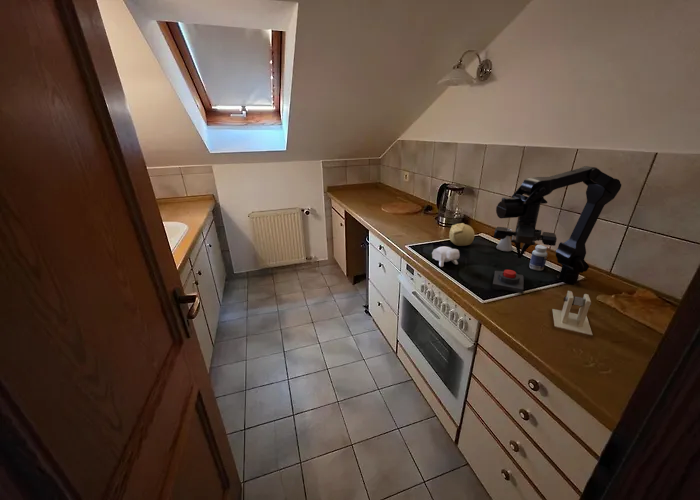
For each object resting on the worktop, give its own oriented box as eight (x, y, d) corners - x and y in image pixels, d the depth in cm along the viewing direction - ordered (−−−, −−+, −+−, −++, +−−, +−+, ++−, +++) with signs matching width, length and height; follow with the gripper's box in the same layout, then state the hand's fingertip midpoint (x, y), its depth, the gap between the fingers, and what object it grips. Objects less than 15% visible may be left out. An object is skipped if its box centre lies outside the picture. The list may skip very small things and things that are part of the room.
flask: (493, 249, 144) (497, 229, 140) (499, 244, 149) (502, 225, 145) (509, 253, 140) (513, 233, 136) (514, 248, 144) (518, 228, 141)
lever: (561, 303, 99) (563, 294, 99) (573, 306, 97) (575, 296, 97) (571, 305, 87) (572, 294, 87) (584, 308, 86) (586, 297, 86)
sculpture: (447, 239, 158) (449, 219, 154) (471, 240, 156) (473, 220, 151) (449, 247, 148) (451, 226, 143) (474, 248, 145) (478, 227, 141)
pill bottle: (544, 272, 121) (549, 250, 118) (528, 269, 124) (533, 247, 120) (543, 266, 126) (548, 245, 122) (529, 264, 128) (533, 243, 124)
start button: (503, 272, 114) (504, 268, 114) (515, 274, 113) (516, 270, 112) (502, 277, 111) (503, 273, 110) (515, 279, 109) (515, 275, 109)
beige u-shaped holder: (551, 311, 97) (559, 284, 93) (585, 318, 93) (595, 291, 89) (554, 328, 89) (562, 300, 85) (591, 337, 85) (602, 308, 81)
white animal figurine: (430, 266, 136) (448, 268, 121) (428, 247, 136) (446, 247, 121) (447, 263, 138) (466, 265, 123) (445, 245, 138) (464, 245, 123)
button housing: (494, 275, 120) (496, 266, 119) (522, 280, 116) (524, 271, 114) (491, 288, 111) (493, 279, 109) (522, 294, 106) (524, 285, 105)
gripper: (495, 219, 99) (488, 261, 105) (562, 226, 91) (551, 272, 97) (498, 211, 108) (491, 250, 114) (559, 216, 100) (549, 259, 106)
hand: (519, 257), depth 108 cm, fingers closed
